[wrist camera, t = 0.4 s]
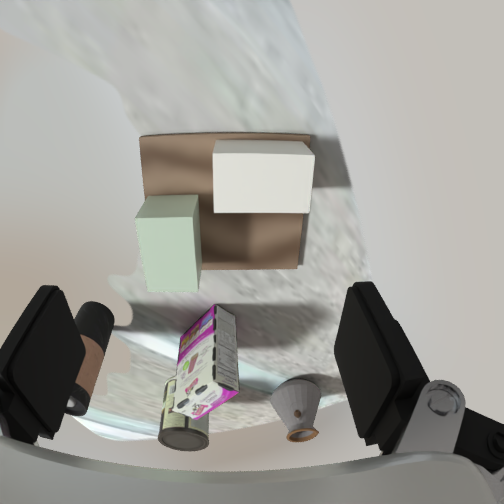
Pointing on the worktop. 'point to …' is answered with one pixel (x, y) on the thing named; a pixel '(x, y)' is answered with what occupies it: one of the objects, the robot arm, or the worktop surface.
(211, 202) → the walnut board
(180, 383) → the candy bar box
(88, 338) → the travel mug
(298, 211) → the white block
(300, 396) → the coffee pot
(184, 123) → the worktop surface
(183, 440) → the coffee can
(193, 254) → the pale green block
